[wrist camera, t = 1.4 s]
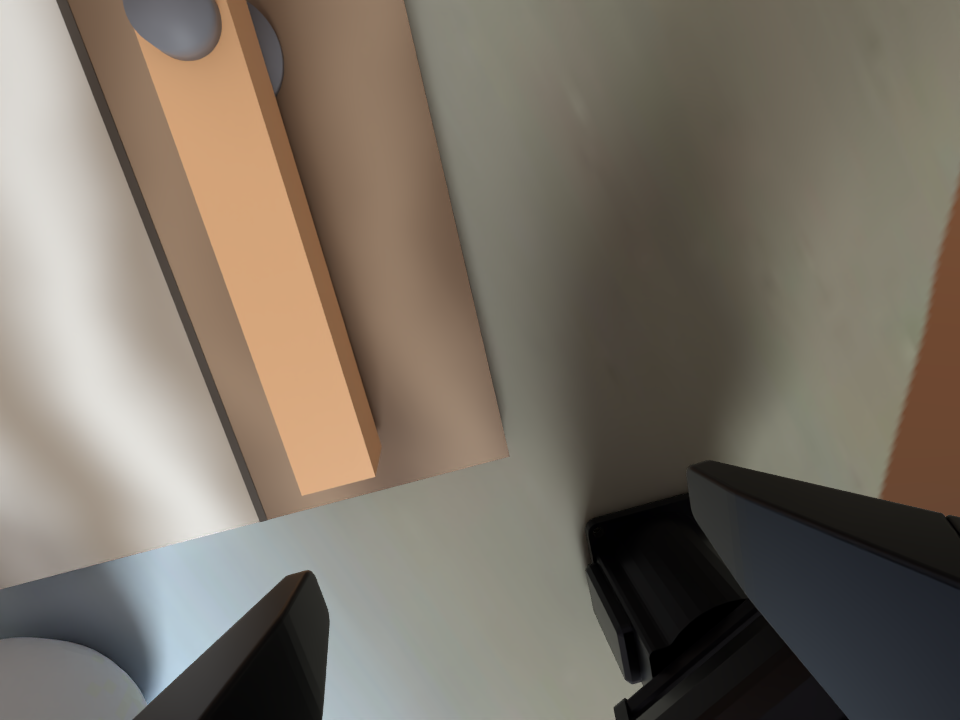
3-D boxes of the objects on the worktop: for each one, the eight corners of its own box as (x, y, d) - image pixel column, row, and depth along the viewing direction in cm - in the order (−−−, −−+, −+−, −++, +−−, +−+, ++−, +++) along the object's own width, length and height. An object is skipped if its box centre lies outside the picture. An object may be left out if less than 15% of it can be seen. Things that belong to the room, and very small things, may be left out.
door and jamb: (353, -203, 16) (326, -372, 11) (503, 442, 22) (523, 492, 17) (-372, -67, 15) (-706, -196, 10) (-8, 574, 21) (-124, 664, 16)
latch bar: (161, 7, 15) (89, -56, 12) (242, -10, 15) (194, -77, 12) (317, 463, 19) (295, 508, 16) (381, 446, 19) (373, 488, 16)
